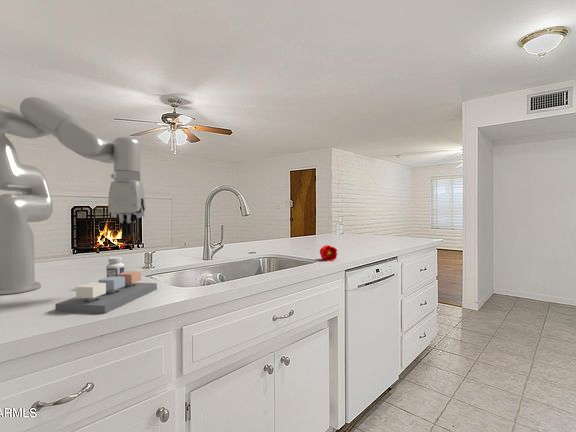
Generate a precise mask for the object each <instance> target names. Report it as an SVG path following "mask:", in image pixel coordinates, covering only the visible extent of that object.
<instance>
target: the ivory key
mask: <svg viewBox="0 0 576 432" xmlns="http://www.w3.org/2000/svg"><path fill="white" fill-rule="evenodd" d="M75 293H76V294H75V297H76V298H87V302H94V301H96V297H97V296H100V295H103V294H105V293H106V283H99V282H87V283H84V284H80V285H77V286H76V287H75Z"/></svg>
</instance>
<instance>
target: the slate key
mask: <svg viewBox="0 0 576 432" xmlns="http://www.w3.org/2000/svg"><path fill="white" fill-rule="evenodd" d="M98 283H106V290H108V294H114V293H116V289H118V288H121V287H124V286H125V277H115V276H110V277H107V276H106V277H104V278H100V279H98Z"/></svg>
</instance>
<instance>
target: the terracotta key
mask: <svg viewBox="0 0 576 432" xmlns="http://www.w3.org/2000/svg"><path fill="white" fill-rule="evenodd" d="M117 277H125V283H126V287H132V286H133V283H138V282H139V281H141V280H142V271H141V270H139V271H138V270H137V271H134V270H133V271H132V270H128V271H124V272H123V273H120V274H117Z"/></svg>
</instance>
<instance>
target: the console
mask: <svg viewBox="0 0 576 432" xmlns="http://www.w3.org/2000/svg"><path fill="white" fill-rule="evenodd" d="M156 290H158V283H157V282H134V283H133V286H132V287H126V283H125V286H124V287H121V288H118V289H116V293H114V294H108V290H106V293H105V294H103V295H100V296H97V297H96V301H94V302H87V298H76V296H74V297H71V298H68V299H65V300H61V301H59V302H57V303H55V308H54V309H55V312H56V313H57V312H60V313H64V312H65V313H84V314H87V313H88V314H107V313H109V312H111V311H113V310H116V309H117V308H120V307H122V306H124V305H127V304H129V303H130V302H133V301H135V300H137V299H139V298H141V297H144V296H145V295H148V294H150V293H152V292H154V291H156Z"/></svg>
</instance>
